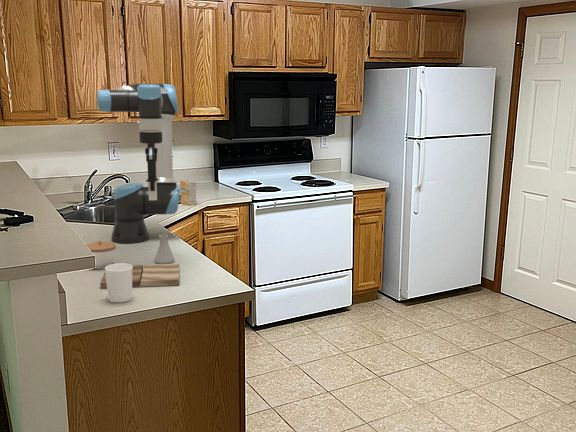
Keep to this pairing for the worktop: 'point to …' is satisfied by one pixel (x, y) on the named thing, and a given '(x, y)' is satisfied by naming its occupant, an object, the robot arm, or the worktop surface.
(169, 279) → the oak plank
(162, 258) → the flask
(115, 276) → the white cup
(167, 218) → the worktop surface
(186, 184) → the supplement box
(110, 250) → the lidded jar
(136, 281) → the walnut plank
